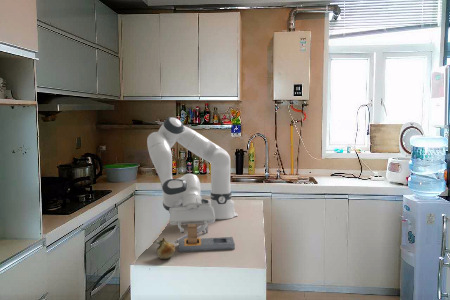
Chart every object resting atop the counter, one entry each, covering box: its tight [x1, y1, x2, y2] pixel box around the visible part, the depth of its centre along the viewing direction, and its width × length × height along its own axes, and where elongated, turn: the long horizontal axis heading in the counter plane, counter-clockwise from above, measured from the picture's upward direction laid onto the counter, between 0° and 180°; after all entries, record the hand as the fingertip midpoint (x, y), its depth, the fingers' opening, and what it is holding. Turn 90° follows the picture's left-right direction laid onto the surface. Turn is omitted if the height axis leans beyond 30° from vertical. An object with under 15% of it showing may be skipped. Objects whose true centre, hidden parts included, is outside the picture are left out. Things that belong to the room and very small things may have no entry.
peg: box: [187, 224, 198, 244], centre depth 165 cm, size 4×4×10 cm
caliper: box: [174, 224, 209, 244], centre depth 180 cm, size 20×1×6 cm, turn 137°
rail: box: [178, 236, 236, 253], centre depth 166 cm, size 9×24×3 cm, turn 95°
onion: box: [155, 237, 176, 260], centre depth 154 cm, size 8×8×8 cm
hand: (192, 232), depth 165 cm, fingers open, 8 cm apart
